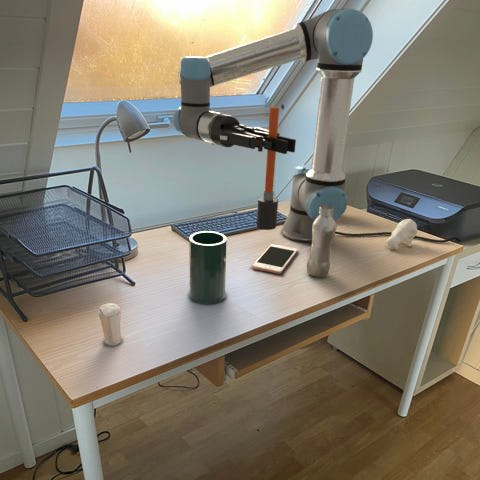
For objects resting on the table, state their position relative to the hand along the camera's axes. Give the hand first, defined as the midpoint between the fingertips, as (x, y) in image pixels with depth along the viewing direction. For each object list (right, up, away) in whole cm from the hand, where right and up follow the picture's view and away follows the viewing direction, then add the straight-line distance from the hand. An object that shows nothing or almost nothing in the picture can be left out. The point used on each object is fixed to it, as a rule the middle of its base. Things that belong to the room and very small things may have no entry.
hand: (290, 146), depth 107 cm
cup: (-20, -33, +17) cm, 42 cm away
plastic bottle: (+11, -26, +30) cm, 41 cm away
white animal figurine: (+41, -15, +51) cm, 67 cm away
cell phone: (-1, -21, +37) cm, 43 cm away
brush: (-5, -15, +14) cm, 21 cm away
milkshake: (-39, -44, -3) cm, 59 cm away
